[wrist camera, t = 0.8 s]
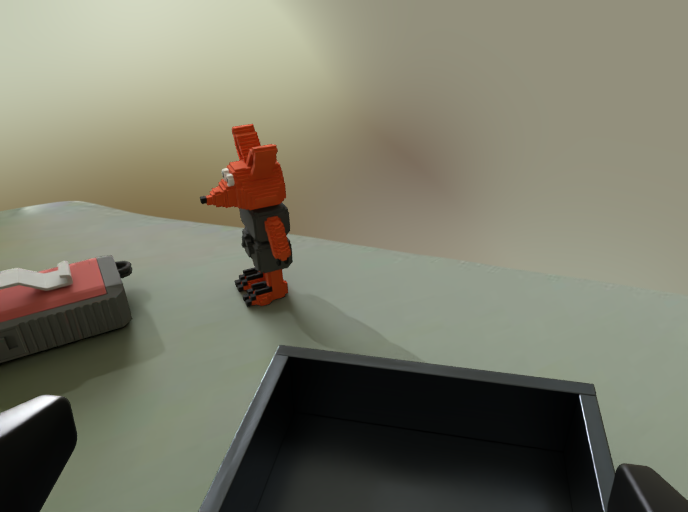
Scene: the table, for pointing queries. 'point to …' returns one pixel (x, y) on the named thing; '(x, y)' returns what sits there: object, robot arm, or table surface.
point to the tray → (412, 440)
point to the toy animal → (257, 215)
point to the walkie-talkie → (60, 304)
